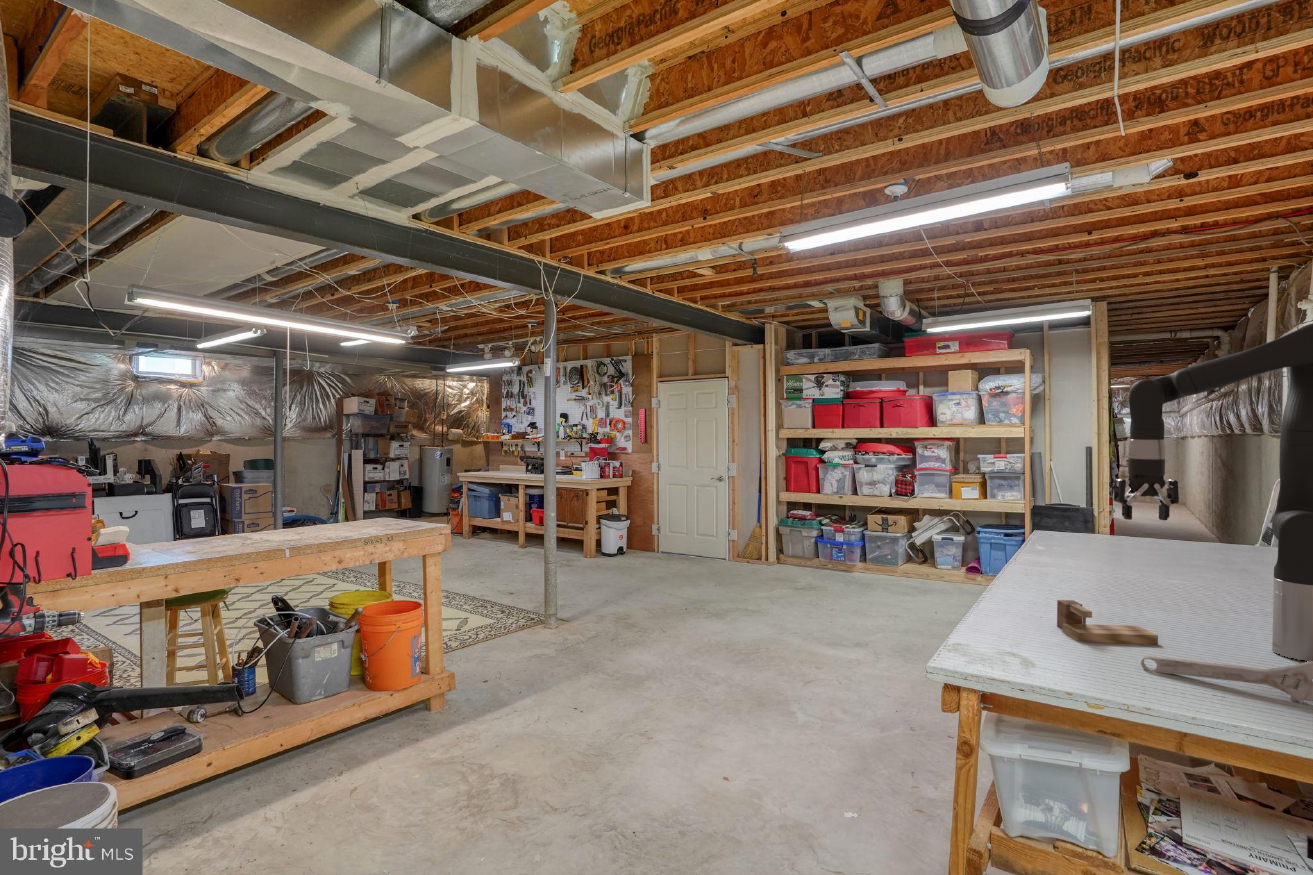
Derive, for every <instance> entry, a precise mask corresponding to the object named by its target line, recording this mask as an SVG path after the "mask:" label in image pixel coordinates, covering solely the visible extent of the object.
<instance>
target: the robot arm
mask: <svg viewBox="0 0 1313 875" xmlns="http://www.w3.org/2000/svg"><path fill="white" fill-rule="evenodd" d="M1286 368H1289V379H1290V380H1289V391H1288V395H1287V399H1286V402H1285V406H1284V410H1283V415H1282V420H1281V426H1280V437H1279V488H1278V489H1279V490H1278V497H1277V500H1276V505H1275V509H1274V514H1273V517H1272V518H1273V519H1272V522H1271V530H1272V534H1273V535H1274V537H1275V538H1276V540H1278V542H1277V543H1278V544H1277V559H1276V560H1277V561H1276V562H1275V565H1274V567H1273V592H1272V593H1273V596H1272V599H1273V600H1272V604H1273V605H1272V636H1271V637H1272V638H1271V639H1272V641H1271V642H1272V643H1271V646H1272V647H1271V651H1272V652H1273V653H1275V654H1276V653H1277V655H1278V654H1280V655H1279V656H1281V657H1284V656H1285V657H1284V658H1287V657H1288V658H1287V659H1291V658H1294V659H1293V660H1295V659H1297V660H1296V661H1300V660H1305V661H1304V662H1306V661H1313V323H1308V324H1306V325H1304V326H1301V327H1299V328H1298V329H1296V330H1294V331H1291V332H1290V333H1288V334H1285V335H1283V336H1281V337H1279V338H1276V339H1274V340H1270V341H1268V342H1265V343H1264V344H1261V345H1257V346H1255V347H1251V348H1249V349H1245V350H1242V351H1237V352H1235V353H1231V354H1228V355H1225V356H1221V357H1217V358H1214V359H1210V360H1207V361H1203V362H1199V363H1196V364H1192V365H1190V366H1187V367H1184V368H1181V369H1178V370H1176V371H1174V372H1173V373H1171V374H1167V375H1163V376H1160V377H1156V378H1151V379H1150V378H1148V379H1147V378H1146V379H1140V380H1138V381H1136V382H1135V383H1133V384H1132V386H1131V387H1130V388H1129V391H1128V406H1129V416H1130V424H1129V444H1128V453H1127V454H1128V456H1127V457H1128V462H1127V463H1128V465H1127V466H1128V468H1127V474H1128V479H1127V480H1126V479H1121V478H1116V479H1115V480H1114V491H1113V501H1114V502H1115V503H1119V504H1121V516H1122V517H1123V519H1125V520H1127V521H1130V520H1133V503H1134V502H1136V500H1138V499H1139V498H1140V497H1153V498H1154V499H1156V500H1157V502H1158V503H1159V505H1158V519H1159V521H1168V519H1169V518H1170V510H1171V509H1170V508H1171V507H1170V506H1171V505H1174V504H1179V502H1180V499H1179V496H1180V495H1179V482H1178V480H1175V479H1167V480H1165V478H1164V477H1165V475H1166V444H1165V421H1164V418H1163V410H1164V409H1163V405H1165V404H1168V403H1170V402H1173V401H1176V400H1178V399H1181V398H1185V397H1189V396H1194V395H1198V394H1202V393H1206V392H1209V391H1212V390H1216V389H1220V388H1223V387H1226V386H1229V385H1232V384H1234V383H1238V382H1240V381H1243V380H1246V379H1248V378H1249V379H1250V378H1252V377H1255V376H1258V375H1260V374H1265V373H1267V372H1272V371H1274V370H1279V369H1286ZM1128 487H1129V489H1128V491H1126V488H1128ZM1164 487H1165V488H1166V493H1165V491H1164V490H1163V488H1164Z"/></svg>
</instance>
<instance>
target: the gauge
mask: <svg viewBox="0 0 1313 875" xmlns="http://www.w3.org/2000/svg"><path fill="white" fill-rule="evenodd" d="M1056 602H1057V604H1056V606H1057V607H1056V608H1057V609H1056V610H1057V611H1056V612H1057V613H1056V627H1057V628H1058V629H1060V630H1062V631H1063V624H1082V627H1086V624H1087V618H1089V619H1090V618H1093V611H1092V610H1089V609H1088V608H1086V607H1085V606H1084V607H1083V604H1082V603H1079V602H1077V601H1075V600H1073V599H1072V600H1069V599H1057V601H1056Z"/></svg>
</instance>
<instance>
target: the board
mask: <svg viewBox="0 0 1313 875" xmlns="http://www.w3.org/2000/svg"><path fill="white" fill-rule="evenodd" d="M1062 633H1063V634H1064V635H1065V634H1066V635H1067V637H1068V636H1069V637H1070V638H1071V639H1073V640H1075V641H1076V642H1080V643H1081V642H1082V643H1085V642H1086V643H1107V644H1109V643H1111V644H1112V643H1113V644H1138V645H1139V644H1140V645H1141V644H1142V645H1158V644H1159V635H1158V634H1156V633H1154V632H1152V631H1150V630H1148V629H1146V628H1144V627H1142V626H1140V625H1123V624H1122V625H1121V624H1120V625H1119V624H1118V625H1117V624H1095V623H1094V624H1088V623H1086V627H1082V624H1063V630H1062Z"/></svg>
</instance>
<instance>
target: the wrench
mask: <svg viewBox="0 0 1313 875" xmlns="http://www.w3.org/2000/svg"><path fill="white" fill-rule="evenodd" d="M1145 660H1151V661H1154V662H1155V664H1156V666H1155V667H1153V668H1152V667H1149V666H1147V665H1146V664H1145ZM1140 665H1141V667H1142V668H1143V670H1146V671H1150V672H1154V673H1160V674H1170V675H1179V676H1180V675H1181V676H1186V677H1187V676H1188V677H1194V678H1195V677H1197V678H1206V679H1214V680H1223V681H1230V682H1231V681H1232V682H1241V683H1247V684H1248V683H1249V684H1255V685H1263V686H1268V687H1271V688H1274V689H1277V690H1279V691H1282V692H1283V693H1285V694H1287V695H1289V696H1290V700H1291V701H1293V702H1296V703H1297V702H1298V703H1299V704H1302V705H1303V704H1304V701H1309V702H1313V661H1308V662H1306V661H1303V662H1302V663H1297V664H1296V663H1295V664H1292V665H1287V666H1283V667H1281V666H1279V667H1272V668H1258V667H1249V666H1241V665H1240V666H1239V665H1232V664H1225V663H1216V662H1215V663H1214V662H1207V661H1199V660H1198V661H1197V660H1189V659H1182V658H1181V659H1180V658H1172V657H1171V658H1170V657H1165V656H1164V657H1163V656H1156V655H1145V656H1143V658H1142V659H1141V661H1140Z"/></svg>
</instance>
